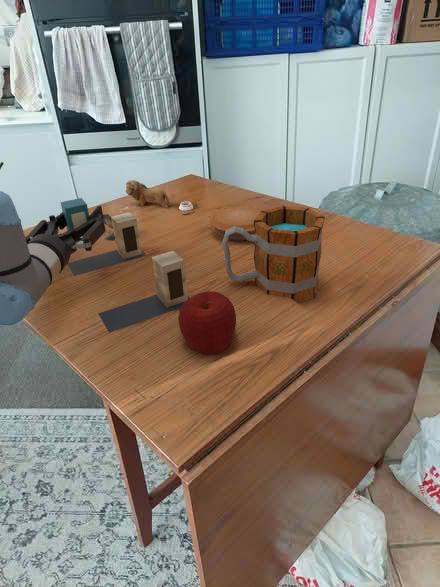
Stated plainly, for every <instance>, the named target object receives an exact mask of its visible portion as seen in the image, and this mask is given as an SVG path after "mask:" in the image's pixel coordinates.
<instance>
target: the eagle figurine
mask: <svg viewBox="0 0 440 587" xmlns="http://www.w3.org/2000/svg"><path fill="white" fill-rule="evenodd" d="M111 217H112V215H110V214H108V213H103V220H104V225H105V226H107V227H108V228H110V229H113V225H112V219H111ZM102 237H103V239H104V240H106V241H115V235H114V231H111V232H108V233H104V234H103V235H102Z"/></svg>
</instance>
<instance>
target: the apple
mask: <svg viewBox="0 0 440 587" xmlns="http://www.w3.org/2000/svg"><path fill="white" fill-rule="evenodd" d="M177 318H178V319H177V320H178V328H179V331H180V333H181V335H182V337H183V339H184V341H185V342H186V344H187V345H188V346H189V347H190V348H191V349H192V350H193V351H195V352H198V353H200V354H204V355H215V354H216V355H217V354H219V353H222V352H224V351H225V350H227V348H228V347H229V346H230V344H231V343H232V341H233V338H234V335H235V331H236V326H237V314H236V310H235V306H234V304H233V303H232V301H231V299H230V298H228V297H227V296H226V295H225V294H223V293H221V292H218V291H202V292H198V293H196V294H194V295H193V296H191V297H189V299H188V300H186V302H185V303H184V304H183V305H182V307H181V308H180V309H179V311H178V317H177Z"/></svg>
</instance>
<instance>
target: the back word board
mask: <svg viewBox="0 0 440 587" xmlns="http://www.w3.org/2000/svg"><path fill="white" fill-rule="evenodd" d="M141 251H142V254H141V255H137V256H133V257H130V258H126V259H123V258H122V256H121V255H120V254H119V253H118V251H117V249H114V250H110V251H107V252H103V253H100V254H96V255H92V256H88V257H84V258H80V259H77V260H73V261H69V262H68V264H67V266H68V267H69V269H70V271H71V274H72V275H73V276H75V277H76V276H79V275H83V274H86V273H89V272H93V271H97V270H100V269H105V268H108V267H111V266H114V265H120V264H122V263H125V262H130V261H133V260H136V259H140V258H143V257H146V256H147V254H146V253H145V252H144V251H143V249H141Z"/></svg>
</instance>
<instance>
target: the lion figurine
mask: <svg viewBox="0 0 440 587" xmlns="http://www.w3.org/2000/svg"><path fill="white" fill-rule="evenodd" d="M125 193H126V194H127V196H128V197H131V198H133V199H134V201H138V202H139V204H140V207H145V204H147V202H155V201H157V202H158V204H159V205H161V206H162V207H163V208H164V209H169V207H170V208H172V204H171V203H170V199H169V197H168V195H167V193H166V192H165V190H164V189H162V188H149V187H147V186H146V185H145V184H144V183H142V182H140V181H137V180H133V179H130V180H128V181H126V182H125ZM166 201H167V203H166Z"/></svg>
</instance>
